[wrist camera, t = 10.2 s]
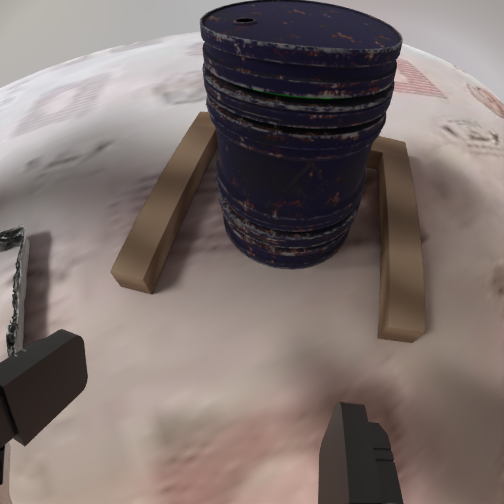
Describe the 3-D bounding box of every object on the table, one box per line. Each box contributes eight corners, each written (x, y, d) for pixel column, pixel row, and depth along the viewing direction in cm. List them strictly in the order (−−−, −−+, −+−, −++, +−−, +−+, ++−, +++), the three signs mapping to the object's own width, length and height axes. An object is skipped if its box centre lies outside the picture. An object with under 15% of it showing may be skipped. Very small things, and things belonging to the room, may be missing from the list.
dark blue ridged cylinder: (317, 161, 28) (337, -1, 16) (373, 247, 23) (447, 57, 10) (208, 187, 26) (182, 8, 14) (244, 288, 21) (226, 61, 9)
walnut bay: (412, 342, 19) (425, 332, 17) (120, 286, 21) (110, 272, 20) (399, 157, 28) (405, 142, 27) (202, 127, 31) (200, 111, 30)
